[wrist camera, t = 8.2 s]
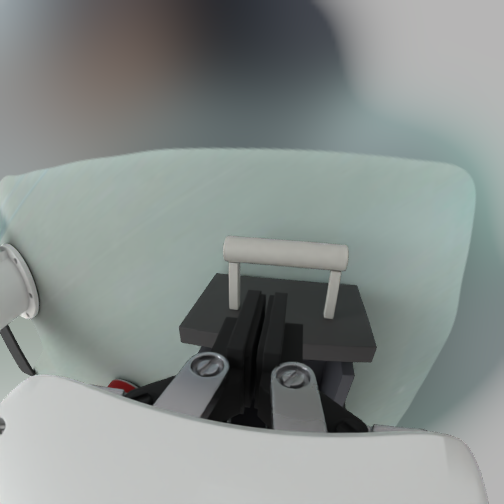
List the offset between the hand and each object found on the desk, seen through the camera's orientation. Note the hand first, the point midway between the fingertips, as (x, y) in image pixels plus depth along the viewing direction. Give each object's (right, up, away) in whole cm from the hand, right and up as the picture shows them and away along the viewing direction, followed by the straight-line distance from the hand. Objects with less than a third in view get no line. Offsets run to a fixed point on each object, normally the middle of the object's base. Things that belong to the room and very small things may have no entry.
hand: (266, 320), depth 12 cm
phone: (-52, -17, +28) cm, 62 cm away
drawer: (+2, -4, +12) cm, 12 cm away
